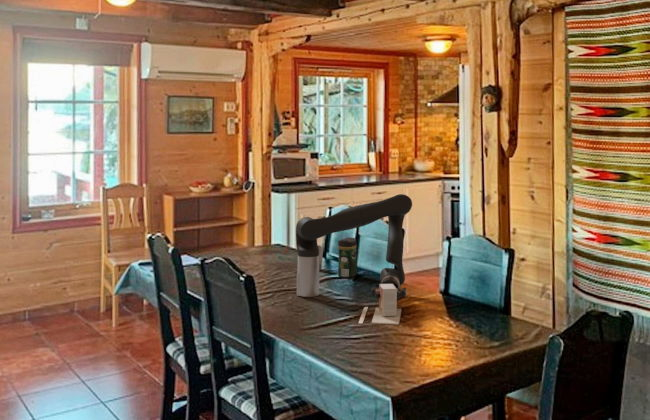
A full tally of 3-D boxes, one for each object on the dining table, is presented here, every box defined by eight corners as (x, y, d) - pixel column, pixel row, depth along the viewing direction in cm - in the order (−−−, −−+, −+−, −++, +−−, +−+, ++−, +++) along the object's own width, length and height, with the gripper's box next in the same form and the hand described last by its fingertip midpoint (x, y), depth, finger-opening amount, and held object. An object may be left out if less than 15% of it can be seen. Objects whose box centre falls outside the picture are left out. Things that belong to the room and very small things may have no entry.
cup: (307, 270, 341) (307, 246, 339) (313, 267, 347) (313, 244, 345) (319, 271, 338) (319, 247, 336) (326, 269, 343) (325, 245, 342)
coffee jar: (344, 273, 334) (344, 235, 331) (359, 274, 330) (359, 237, 328) (335, 277, 325) (335, 238, 323) (350, 278, 322) (350, 240, 319)
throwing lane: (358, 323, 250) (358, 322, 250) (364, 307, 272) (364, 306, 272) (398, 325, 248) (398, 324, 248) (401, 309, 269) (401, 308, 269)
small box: (378, 310, 264) (378, 283, 263) (392, 309, 265) (393, 283, 263) (382, 316, 256) (382, 289, 255) (396, 315, 257) (397, 288, 255)
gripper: (372, 276, 275) (368, 286, 259) (408, 277, 273) (406, 288, 257) (372, 294, 276) (368, 305, 260) (407, 295, 274) (406, 307, 258)
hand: (387, 297), depth 258 cm, fingers closed on small box, 6 cm apart
